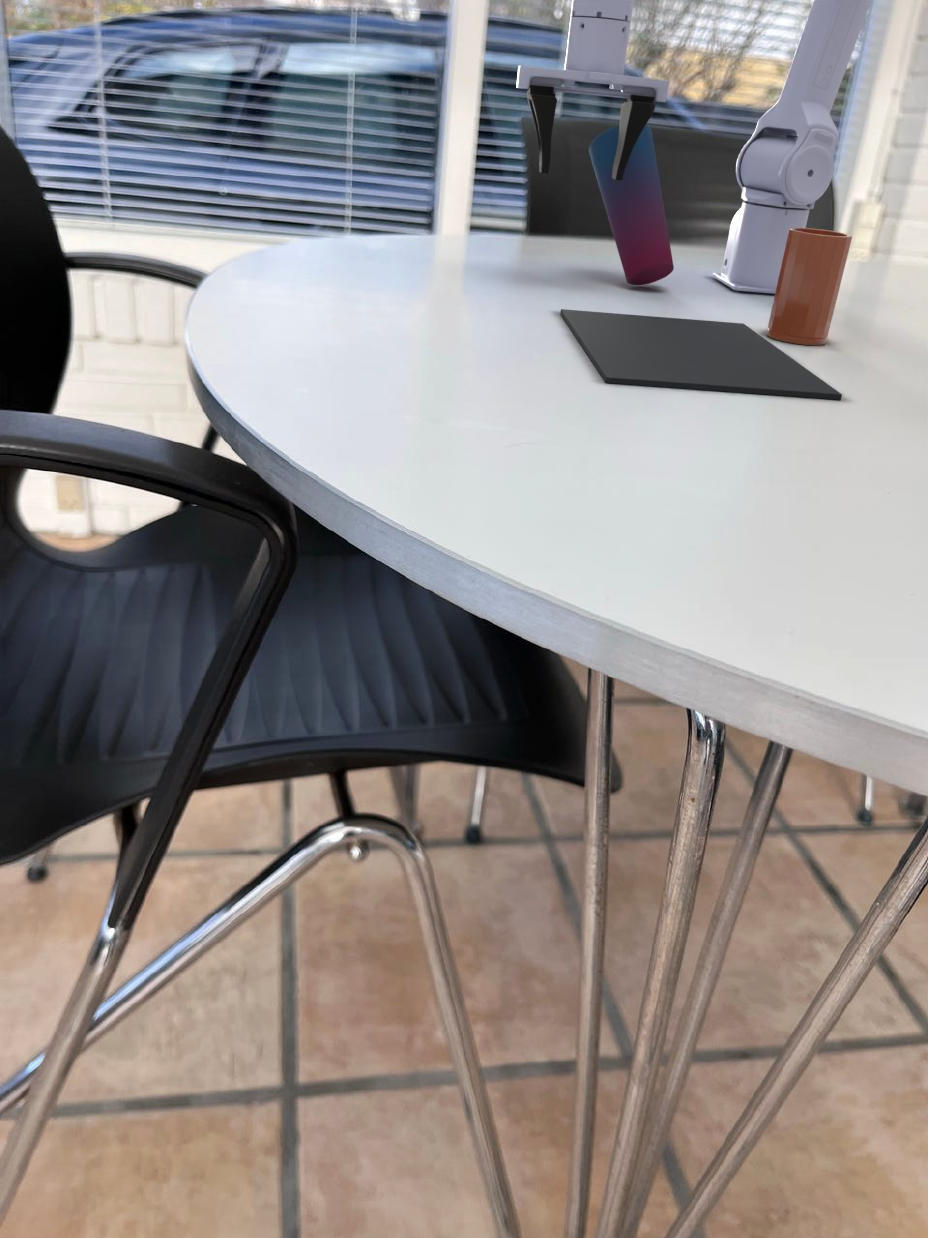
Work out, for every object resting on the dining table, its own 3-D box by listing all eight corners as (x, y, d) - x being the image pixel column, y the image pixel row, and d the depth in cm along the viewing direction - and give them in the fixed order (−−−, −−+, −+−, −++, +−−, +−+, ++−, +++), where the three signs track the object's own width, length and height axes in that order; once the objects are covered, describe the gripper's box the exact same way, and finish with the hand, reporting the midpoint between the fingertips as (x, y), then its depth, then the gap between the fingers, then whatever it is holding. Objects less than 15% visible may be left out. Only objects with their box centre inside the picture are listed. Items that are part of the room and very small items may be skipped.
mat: (560, 313, 92) (560, 308, 92) (742, 327, 94) (743, 323, 94) (606, 382, 71) (606, 376, 71) (841, 399, 73) (842, 394, 72)
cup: (679, 279, 111) (649, 149, 112) (685, 253, 104) (653, 115, 106) (617, 294, 112) (588, 164, 113) (619, 270, 105) (588, 132, 106)
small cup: (758, 329, 94) (781, 225, 89) (813, 334, 94) (838, 230, 90) (777, 342, 89) (801, 233, 85) (834, 347, 89) (861, 238, 85)
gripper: (529, 9, 92) (512, 172, 99) (685, 25, 94) (659, 185, 100) (521, 14, 99) (506, 167, 105) (668, 29, 100) (644, 179, 106)
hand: (580, 176), depth 103 cm, fingers open, 7 cm apart
